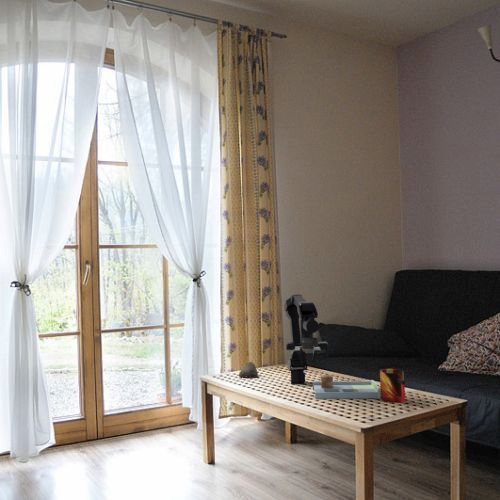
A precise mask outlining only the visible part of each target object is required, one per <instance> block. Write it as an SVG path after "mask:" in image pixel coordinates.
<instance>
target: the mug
mask: <svg viewBox="0 0 500 500" xmlns="http://www.w3.org/2000/svg"><path fill="white" fill-rule="evenodd" d="M404 375H405V374H404V370H402V369H398V368H397V369H395V368H384V369H380V370H379V379H380V380H379V384H380V385H379V388H380V400H381V401H382V402H384V403H393V404H394V403H395V404H396V403H406V391H405V390H406V387H405V383H406V381H405V379H404V378H405V376H404Z"/></svg>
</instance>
